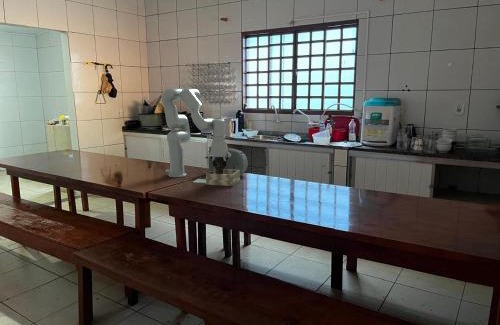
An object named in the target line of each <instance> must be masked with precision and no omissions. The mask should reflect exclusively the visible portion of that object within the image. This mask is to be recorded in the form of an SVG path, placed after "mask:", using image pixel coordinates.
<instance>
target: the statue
mask: <svg viewBox="0 0 500 325" xmlns="http://www.w3.org/2000/svg"><path fill="white" fill-rule="evenodd" d="M223 161H224V159H223V157H217V162H216V174H223Z"/></svg>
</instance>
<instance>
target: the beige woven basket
mask: <svg viewBox="0 0 500 325" xmlns="http://www.w3.org/2000/svg"><path fill="white" fill-rule="evenodd" d="M212 172H213V173H205V179H206V183H205V185H207V186H209V185H210V186H229V187H235V185H237V183H238V184H239V182H240V181H241V175H240V170H230V169H223V174H216V169H213V171H212Z"/></svg>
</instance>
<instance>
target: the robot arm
mask: <svg viewBox="0 0 500 325" xmlns="http://www.w3.org/2000/svg"><path fill="white" fill-rule="evenodd" d="M200 99H201V92H200V91H199V89H196V88H184V87H183V88H181V87H180V88H178V87H173V88H172V87H171V88H167V89H165V90H164V91H163V92H162V94H161V102H162V106H163V109H164V114H165V121H166V125H167V128H169V129H175V130H171V131H169V132H168V133H167V134H166V141H167V144H168V151H169V152H168V154H169V167H170V168H169V169H168V168H167V169H165V170H164V171H165V173H168V177H169V178H182V177H183V178H184V177H187V172H185V160H184V149H183V147H182V145H181V144H186V143H189V141H191V140H190V139H191V130H190V124H189V119H188V117H187V116H186V115H185V114H181V113H178V107H177V105H176V103H175V102H183V103H184V104H185V106H186V107H187V108H188V110H190V112H191V114H190V115H191V119H192V122H193V124H194V125H195V127H196V128H197V129H198V130H199V131H201V132H208V131H212V136H211V137H210V138H211V140H212V141H211V145H210V146H211V152H210V153H209V152H208V154H207V156H209V157H210V158H211V159H212V161H213V165H214V167H215V166H216V160H215V159H216V157H223V159H224V161H223V167H226V166H227V160H228V159H229V158H230V157H231V154H230V153H229V152H228V149H227V147H228V144H227V143H228V142H227V140H226V122H225V119H224V118H213V117H210V118H204V117H203V116H202V115H201V113H200V111H201V110H202V108H203V104H202V102H201V101H200ZM176 129H177V130H176ZM227 155H228V157H227V158H226V156H227Z"/></svg>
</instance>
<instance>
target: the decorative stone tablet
mask: <svg viewBox="0 0 500 325" xmlns="http://www.w3.org/2000/svg"><path fill="white" fill-rule="evenodd" d="M227 149H228V152H229V153H230V154H231V157H230V158H229V159H228V160H227V166H226V167H223V169H230V170H240V176H241V175H243V174H244V173H245V172H246V171H247V168H248V165H249V162H248V156H246V154H245V153H244V152H243V151H242V150H239V149H236V148H230V147H228V146H227ZM210 152H211V145H210V146H209V147H208V154H209V153H210ZM207 156H208V155H207ZM227 157H228V155H227V156H226V158H227ZM215 160H216V162H217V157H216V159H215ZM207 162H208V163H207V164H208V166H207V167H208V171H210V172H213V169H216V166H215V167H214V165H213V161H212V159H211V158H210V157H209V156H208V161H207Z"/></svg>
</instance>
